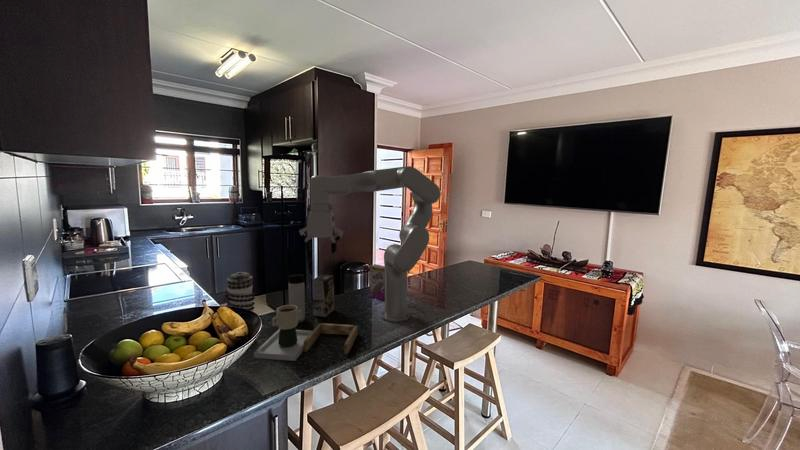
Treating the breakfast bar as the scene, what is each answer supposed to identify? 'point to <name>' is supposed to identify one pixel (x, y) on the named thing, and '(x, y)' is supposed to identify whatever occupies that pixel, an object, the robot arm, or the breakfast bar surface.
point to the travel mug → (297, 293)
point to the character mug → (287, 324)
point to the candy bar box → (377, 282)
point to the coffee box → (323, 295)
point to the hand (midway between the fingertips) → (321, 252)
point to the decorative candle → (240, 291)
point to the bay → (333, 329)
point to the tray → (282, 347)
